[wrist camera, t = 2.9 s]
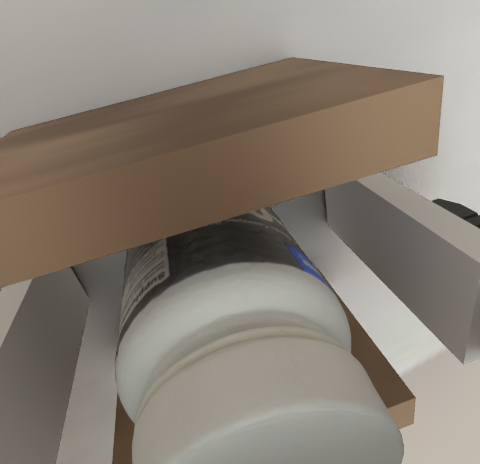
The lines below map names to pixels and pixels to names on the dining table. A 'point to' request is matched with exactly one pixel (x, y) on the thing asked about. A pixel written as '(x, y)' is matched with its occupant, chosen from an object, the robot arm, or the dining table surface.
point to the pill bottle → (242, 354)
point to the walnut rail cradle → (210, 171)
